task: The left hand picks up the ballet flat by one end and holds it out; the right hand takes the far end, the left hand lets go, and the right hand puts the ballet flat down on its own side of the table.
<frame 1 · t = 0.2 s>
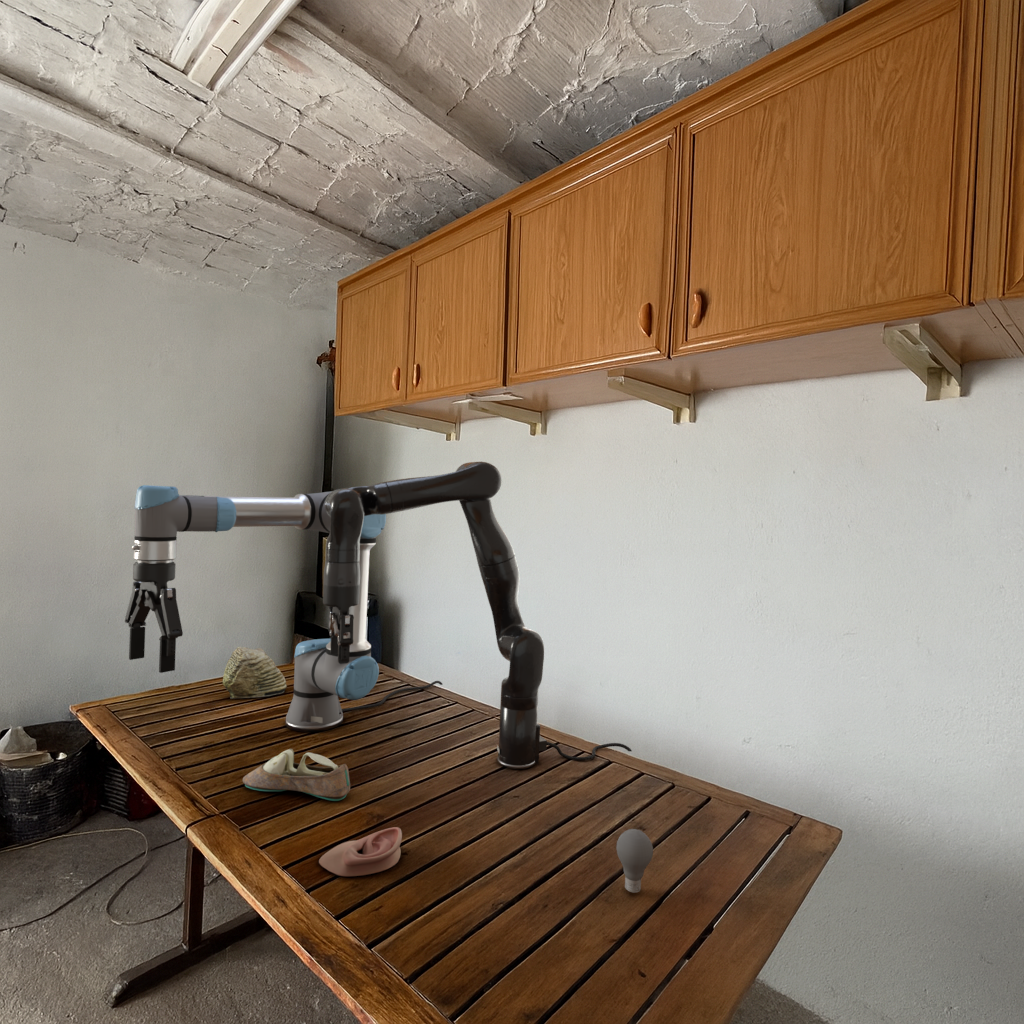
left hand: (151, 664, 129), 28 cm above the table, tool pointing down, fingers open, 13 cm apart
right hand: (339, 658, 135), 29 cm above the table, tool pointing down, fingers open, 8 cm apart
light bulb: (632, 891, 106), on the table
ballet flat: (297, 789, 137), on the table
fossil: (254, 694, 198), on the table
anatomical model: (361, 859, 111), on the table
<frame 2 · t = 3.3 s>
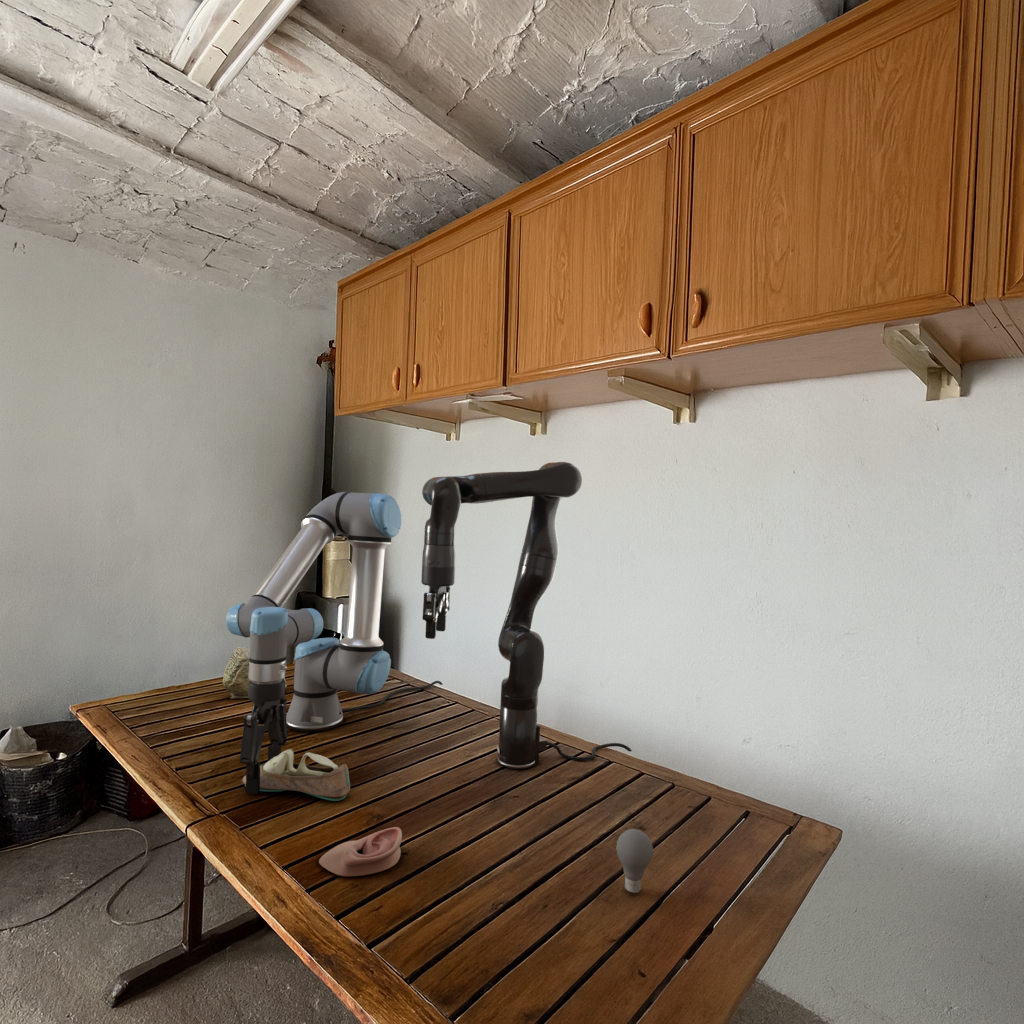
left hand: (263, 783, 138), 0 cm above the table, tool pointing down, fingers closed on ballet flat, 8 cm apart
right hand: (435, 634, 145), 33 cm above the table, tool pointing down, fingers open, 8 cm apart
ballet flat: (297, 789, 137), on the table, touching left hand
everything else where it was.
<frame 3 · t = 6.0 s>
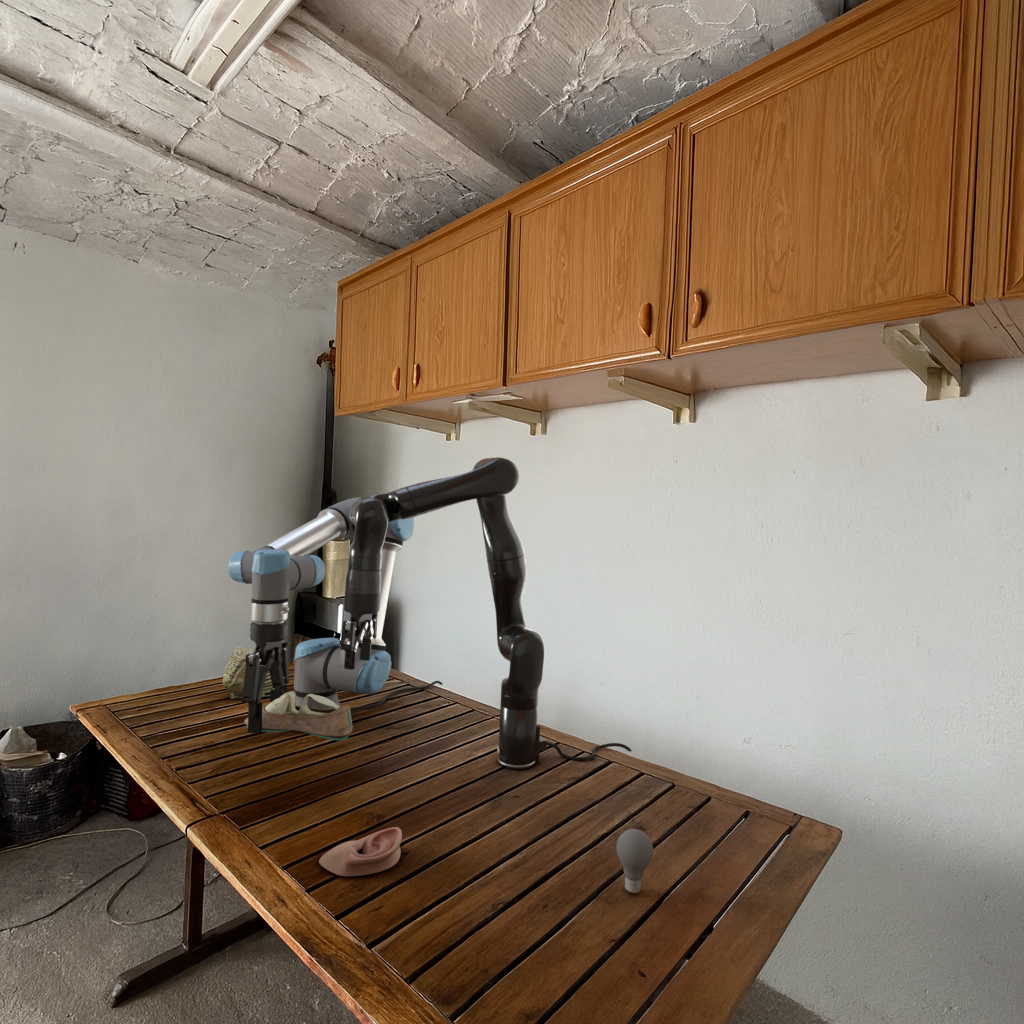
left hand: (265, 725, 138), 13 cm above the table, tool pointing down, fingers closed on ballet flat, 8 cm apart
right hand: (357, 664, 137), 27 cm above the table, tool pointing down, fingers open, 8 cm apart
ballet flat: (299, 731, 136), point 13 cm above the table, touching left hand
everything else where it was.
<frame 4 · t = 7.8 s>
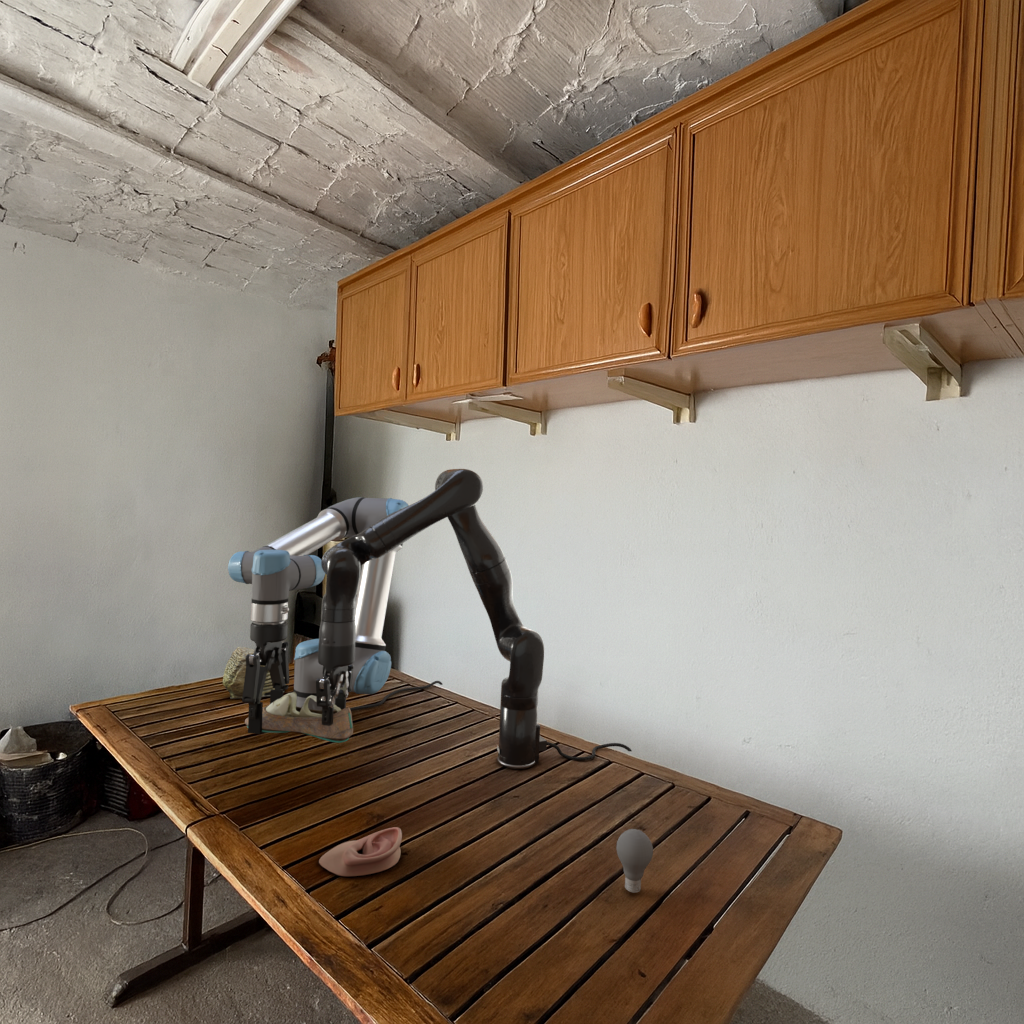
left hand: (265, 725, 138), 13 cm above the table, tool pointing down, fingers closed on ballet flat, 8 cm apart
right hand: (333, 719, 135), 16 cm above the table, tool pointing down, fingers closed on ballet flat, 6 cm apart
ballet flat: (299, 732, 137), point 12 cm above the table, touching left hand, right hand
everything else where it was.
when the left hand's fingers open (13 cm above the table, at t = 8.8 s): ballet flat stays where it is, held by the right hand.
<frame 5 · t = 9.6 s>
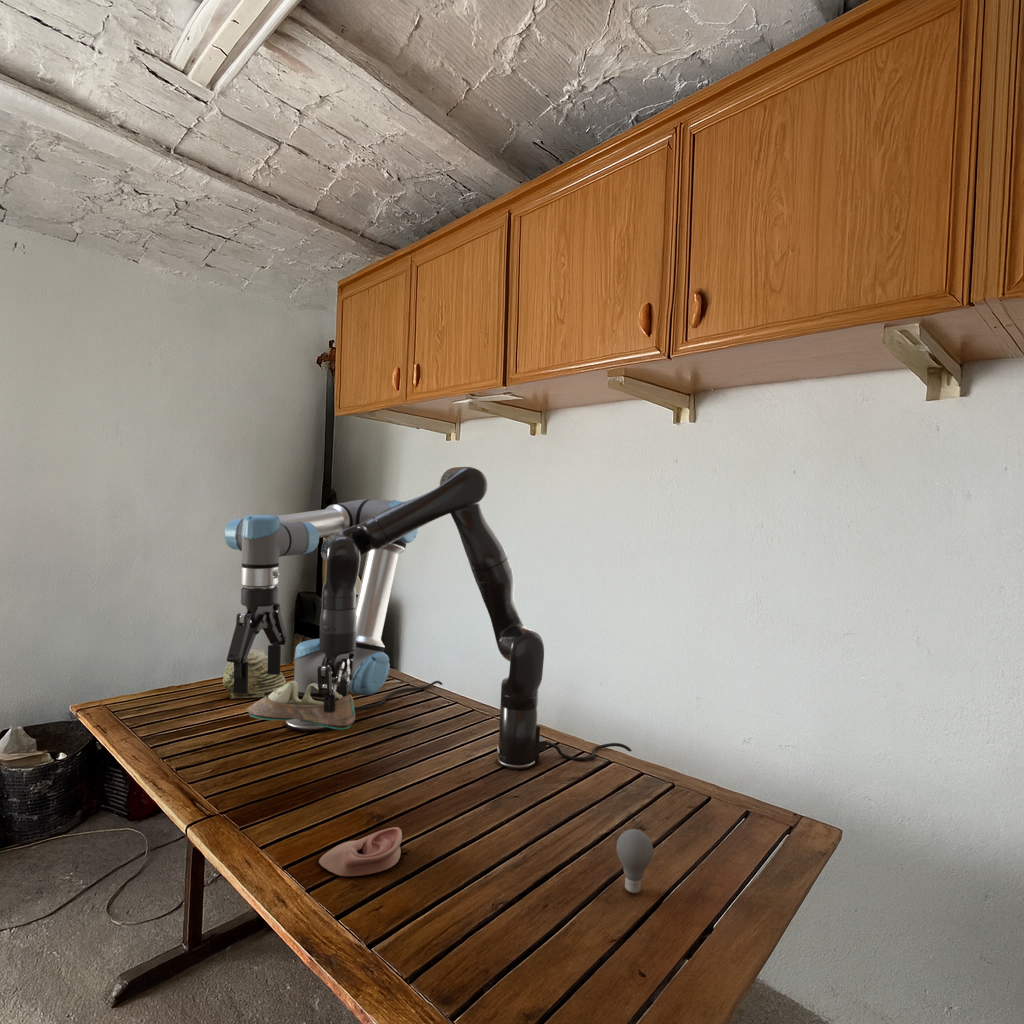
left hand: (258, 683, 138), 22 cm above the table, tool pointing down, fingers open, 13 cm apart
right hand: (335, 706, 135), 19 cm above the table, tool pointing down, fingers closed on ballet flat, 6 cm apart
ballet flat: (301, 719, 137), point 15 cm above the table, touching right hand
everything else where it was.
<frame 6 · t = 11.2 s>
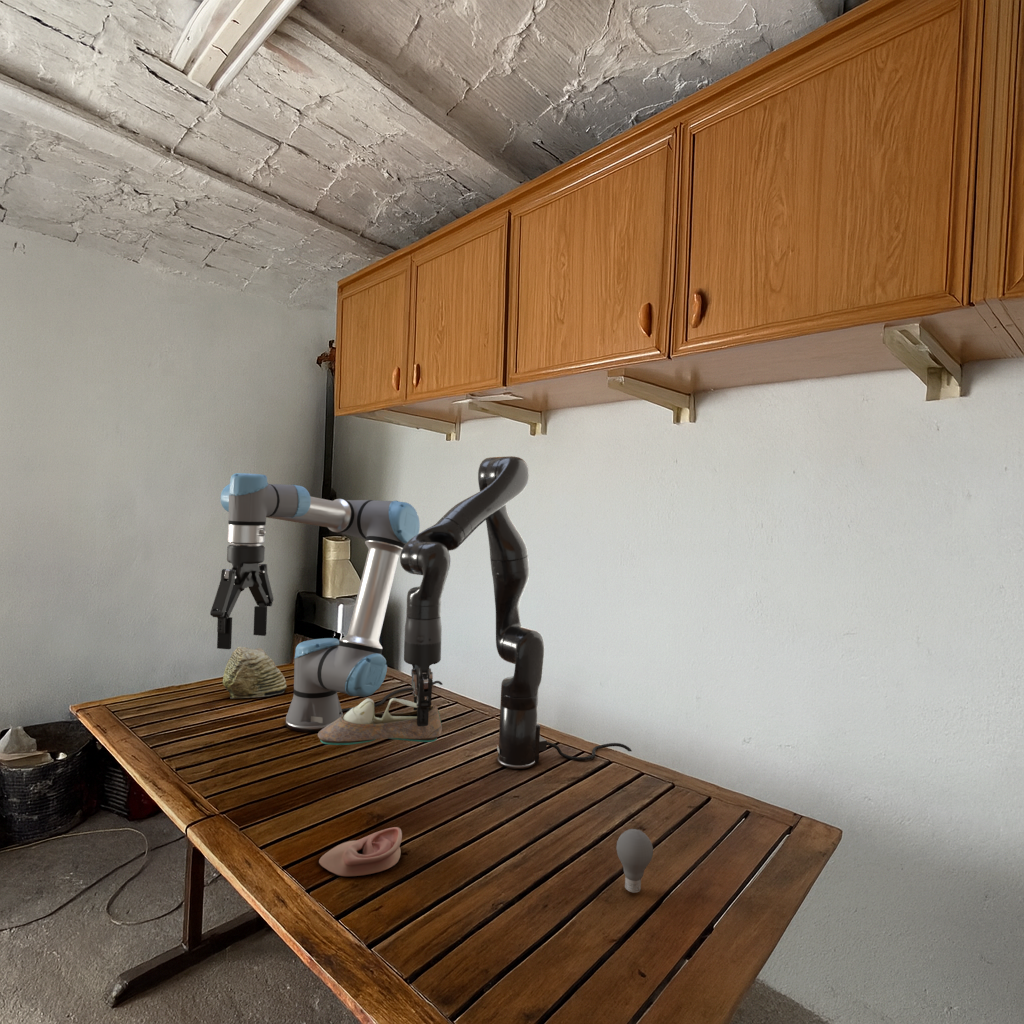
left hand: (242, 641, 138), 31 cm above the table, tool pointing down, fingers open, 13 cm apart
right hand: (420, 719, 130), 19 cm above the table, tool pointing down, fingers closed on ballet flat, 5 cm apart
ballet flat: (380, 738, 129), point 15 cm above the table, touching right hand
everything else where it was.
when the right hand's fingers open (5 cm above the table, at t = 15.0 s): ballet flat stays where it is, resting on anatomical model.
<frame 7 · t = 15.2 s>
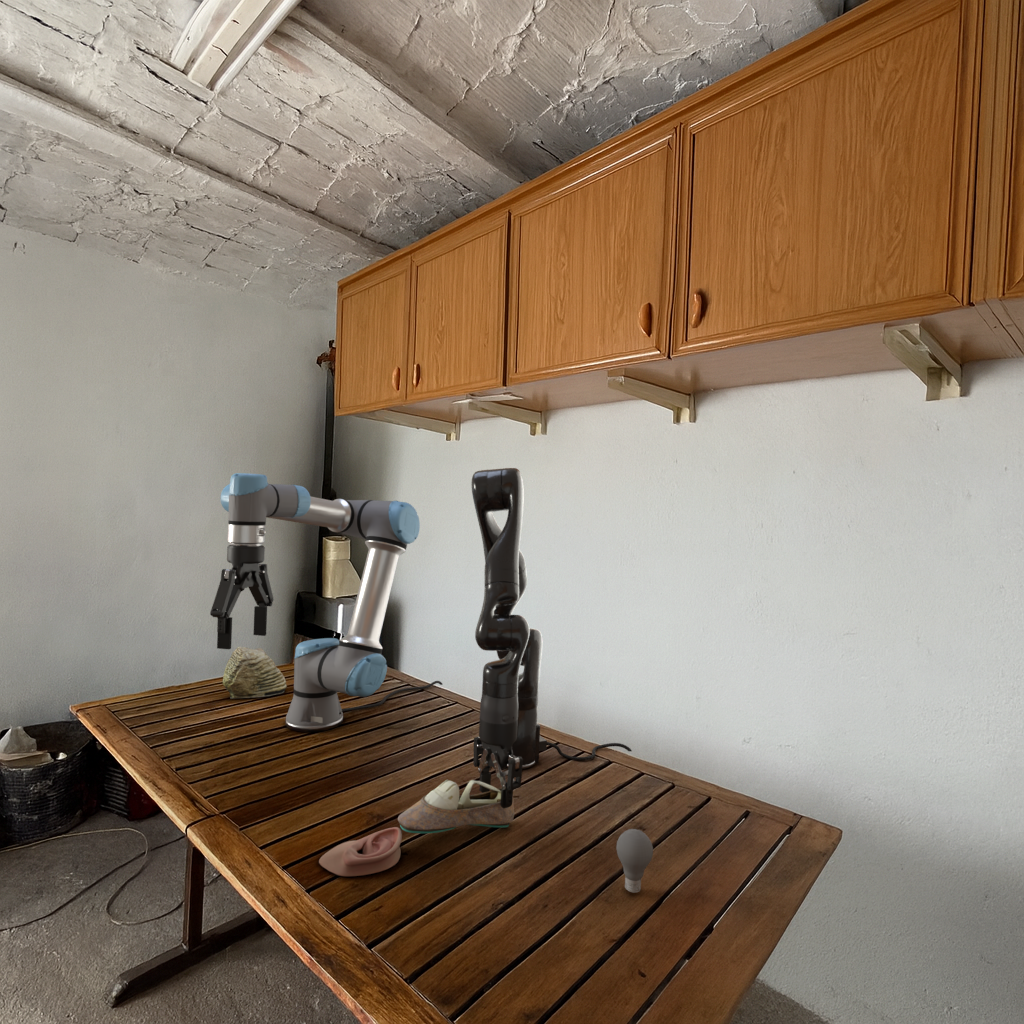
left hand: (242, 641, 138), 31 cm above the table, tool pointing down, fingers open, 13 cm apart
right hand: (495, 798, 125), 5 cm above the table, tool pointing down, fingers open, 7 cm apart
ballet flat: (454, 824, 121), point 2 cm above the table, tilted 11°, touching anatomical model
anatomical model: (361, 859, 111), on the table, touching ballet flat
everything else where it was.
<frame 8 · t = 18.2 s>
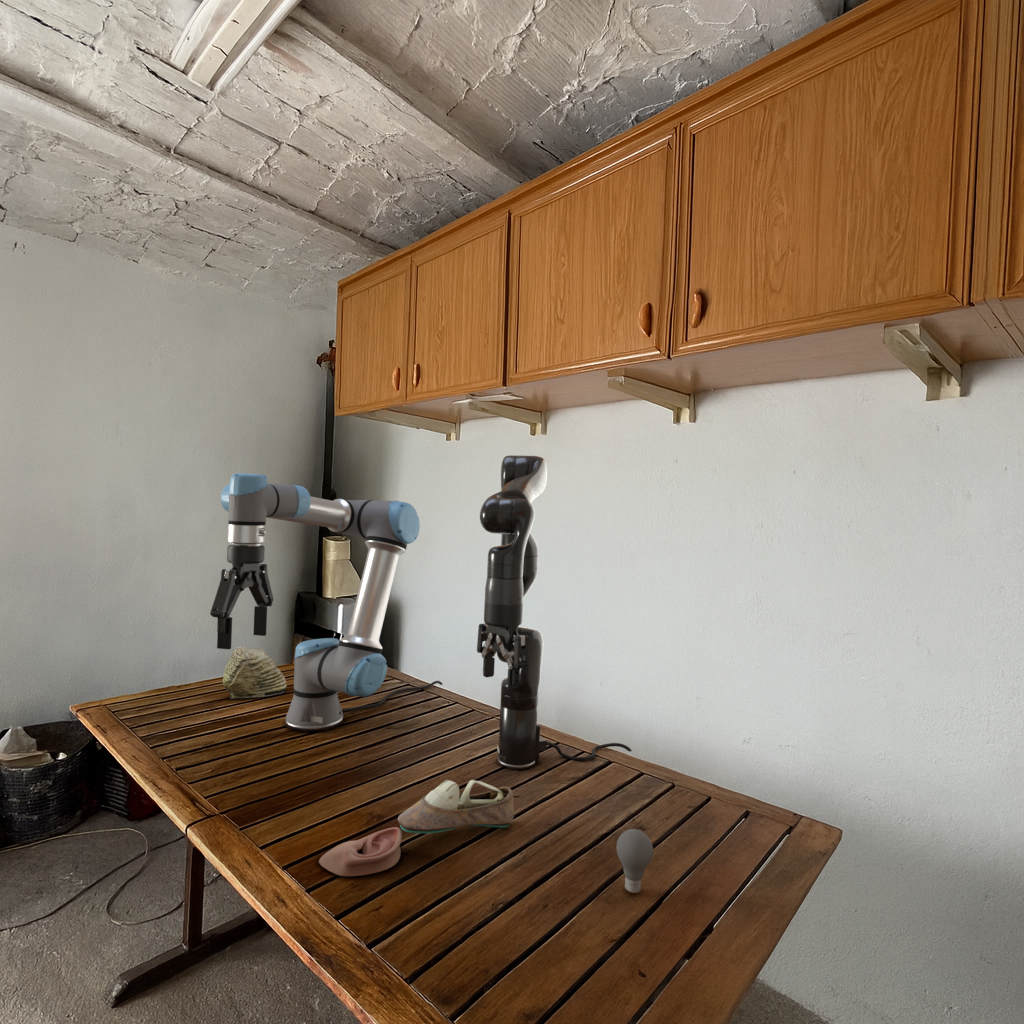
left hand: (242, 641, 138), 31 cm above the table, tool pointing down, fingers open, 13 cm apart
right hand: (500, 681, 124), 29 cm above the table, tool pointing down, fingers open, 8 cm apart
nothing on the table moved.
at the end: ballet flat inside the target area (8.5 cm from its centre), point 2.1 cm above the table; the left hand is holding nothing; the right hand is holding nothing; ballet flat at rest at the end (0.0 cm/s) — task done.
